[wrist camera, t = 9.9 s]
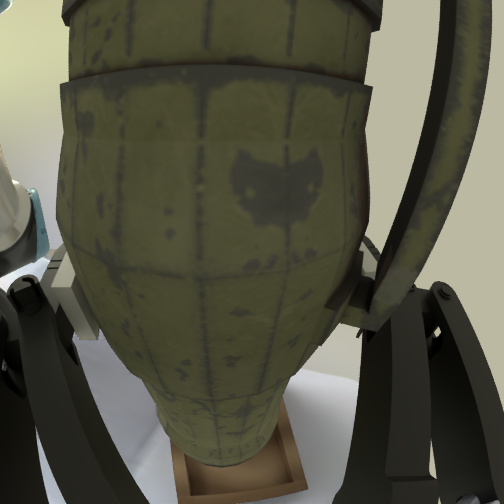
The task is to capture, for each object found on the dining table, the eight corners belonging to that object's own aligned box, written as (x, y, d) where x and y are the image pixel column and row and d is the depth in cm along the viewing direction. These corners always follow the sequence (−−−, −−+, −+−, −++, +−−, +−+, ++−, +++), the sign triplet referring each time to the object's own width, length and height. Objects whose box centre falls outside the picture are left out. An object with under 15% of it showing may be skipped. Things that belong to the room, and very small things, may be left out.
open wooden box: (169, 387, 35) (126, 240, 19) (271, 378, 39) (318, 232, 22) (182, 506, 22) (101, 514, 6) (302, 490, 25) (429, 449, 9)
